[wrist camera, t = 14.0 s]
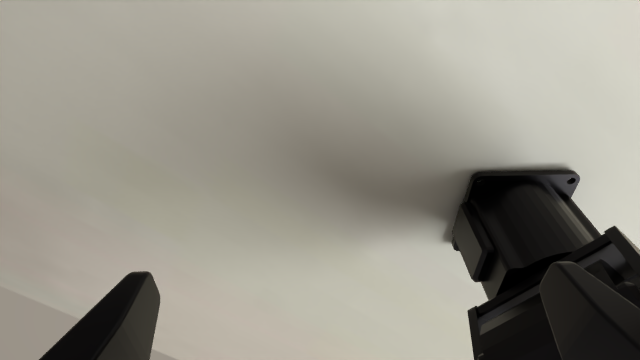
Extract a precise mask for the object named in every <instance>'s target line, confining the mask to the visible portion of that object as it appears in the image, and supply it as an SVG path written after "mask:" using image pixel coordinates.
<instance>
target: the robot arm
mask: <svg viewBox="0 0 640 360" xmlns="http://www.w3.org/2000/svg"><path fill="white" fill-rule="evenodd" d="M570 178H571V179H570ZM480 179H482V180H481V181H480V182H477V181H478V180H480ZM568 179H569V180H568ZM579 181H580V176H579V175H578V174H577V173H576V172H575V171H571V170H567V171H507V172H477V173H475V174H474V175H473V176H472V177H471V179H470V182H469V185H468V189H467V192H466V195H465V199H464V202H463V203H462V204H461V205H460V207H459V211H458V214H457V218H456V221H455V224H454V228H453V231H452V233H453V235H454V236H453V240H452V246H453V248H454V250H456V251H460V252H461V255H462V257H463V260H464V262H465V264H466V267H467V269H468V272H469V274H470V276H471V279H472V280H473V281H475V282H481V284H482V286H483V288H484V291H485V293H486V295H487V298H488V300H489V301H487V302H485V303H483V304H482V305H480V306H478V307H477V306H475V307H473V308H471V309H470V310H468V318H469V325H470V332H471V340H472V347H473V354H474V360H640V250H639V249H638V248H637V247H636V246H635V245H634V244H633V243H632V242H631V241H630V240H629V239H628V238H627V237H626V236H625V235H624V234H623V233H622V232H621V231H620V230H619V229H618V228H617V227H616V226H613V227H611V228H609V229H608V230H606V231H604V232H605V234H603V235H601V234H600V233H599V232H598V231H597V229H596V228H595V227H594V226H593V225H592V223H591V222H590V221H589V220H588V218H587V217H586V216H585V215H584V214H583V212H582V211H581V210H580V209H579V208H578V206H577V205H576V204H575V203H574V202H573V200H572V199H571V197H572V195H573V193H574V191H575V189H576V187H577V185H578V183H579ZM159 306H160V294H159V291H158V288H157V286H156V283H155V281H154V279H153V276H152V274H151V273H150V272H147V271H143V272H131V273H129V274H128V275H126V276H125V277H124V278H123V279H122V280H121V281H120V282H119V283H118V284H117V285H116V286H115V287H114V288H113V289H112V290H111V291H110V292H109V293H108V294H107V295H106V296H105V297H104V298H103V299H102V300H100V301H99V302H98V303H97V304H96V305H95V306H94V307H93V308H92V309H91V310H90V311H89V312H88V313H87V314H86V315H85V316H84V317H83V318H82V319H81V320H80V321H79V322H78V323H77V324H76V325H75V326H73V327H72V328H71V329H70V330H69V331H68V332H67V333H66V334H65V335H64V336H63V337H62V338H61V339H60V340H59V341H58V342H57V343H56V344H55V345H54V346H53V347H52V348H51V349H50V350H49V351H48V352H46V354H44V355H43V356H42V357H41V358H40V359H39V360H149V359H150V353H151V349H152V343H153V338H154V333H155V328H156V322H157V317H158V312H159Z"/></svg>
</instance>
